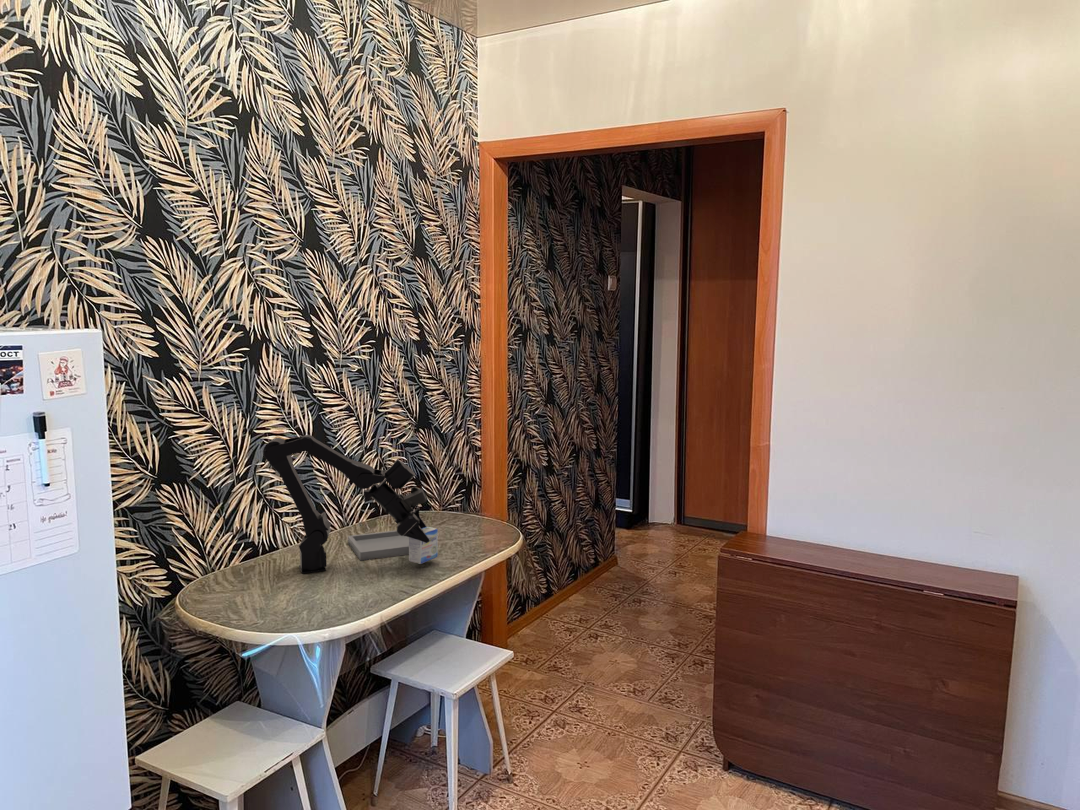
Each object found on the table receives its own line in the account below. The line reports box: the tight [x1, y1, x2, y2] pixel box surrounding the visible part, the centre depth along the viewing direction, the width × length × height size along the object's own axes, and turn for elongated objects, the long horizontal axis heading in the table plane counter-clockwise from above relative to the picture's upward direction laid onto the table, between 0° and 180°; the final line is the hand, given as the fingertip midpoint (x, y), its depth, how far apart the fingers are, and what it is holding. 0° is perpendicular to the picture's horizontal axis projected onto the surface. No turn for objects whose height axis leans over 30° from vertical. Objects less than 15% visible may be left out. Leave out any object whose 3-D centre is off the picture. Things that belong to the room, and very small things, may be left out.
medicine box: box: [408, 526, 439, 565], centre depth 217 cm, size 8×4×9 cm, turn 149°
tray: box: [347, 529, 409, 561], centre depth 234 cm, size 22×18×2 cm
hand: (428, 536), depth 217 cm, fingers closed on medicine box, 8 cm apart
